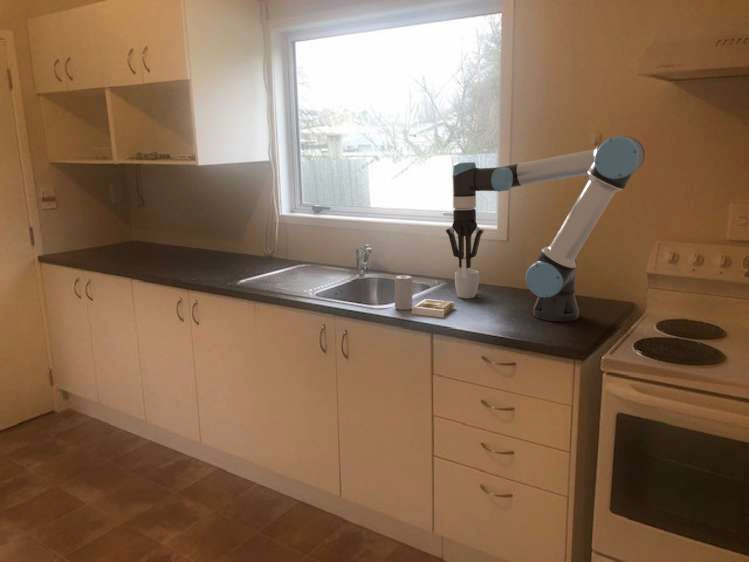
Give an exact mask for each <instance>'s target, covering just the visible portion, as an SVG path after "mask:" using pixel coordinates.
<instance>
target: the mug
mask: <svg viewBox="0 0 749 562" xmlns="http://www.w3.org/2000/svg"><path fill="white" fill-rule="evenodd" d="M479 275H480V274H479V271H478V270H476V269H470V268H468V277H467V278H462V269H457V270H456V271H455V273H454V286H455V292H456V295H457V297H458V298H461V299H473V298H475V297H476V295H477V293H478V290H479V289H478V288H479V283H480V276H479Z"/></svg>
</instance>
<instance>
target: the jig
mask: <svg viewBox="0 0 749 562" xmlns="http://www.w3.org/2000/svg"><path fill="white" fill-rule="evenodd" d="M425 301H427V302H436V303H442V302H443V301H444V300H438V299H429V298H428V299H426V298H424V299H423V300H421V301H419V302H418V303H416V304H415V305H412V308H411V309H412V311H411V313H412V315H418V316H426V317H435V318H436V317H437V318H444V317H445V315H444V310H441V309H432V308H423V307H422V306H423V303H424V302H425ZM448 302H450V301H448ZM451 302H452V310H455V309H456V307H455V306H456V302H455V301H451Z"/></svg>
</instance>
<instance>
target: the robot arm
mask: <svg viewBox="0 0 749 562" xmlns="http://www.w3.org/2000/svg"><path fill="white" fill-rule="evenodd" d="M645 157H646V151H645V148H644V146H643V144H642V143H641V141H639V140H638V139H636V138H634V137H631V136H625V135H623V136H622V135H620V136H619V135H615V136H611V137H610V138H607V139H606V140H604V141H603V142H602V143H601V144H598V145H596V147H595V148H594V149H589V150H583V151H579V152H578V151H577V152H572V153H569V154H567V153H566V154H562V155H557V156H553V157H547V158H541V159H536V160H532V161H527V162H526V161H525V162H520V163H514V164H510V165H504V166H496V167H482V168H480V167H477V165H476V163H475V161H473V162H472V161H469V162H468V161H467V162H466V161H464V162H455V163H454V164H453V168H452V169H453V171H452V172H453V173H452V183H453V184H452V188H453V189H452V191H453V194H452V196H453V198H452V199H453V201H452V202H453V204H452V205H453V209H454V210H453V213H452V214H453V223H452V226H451V227H449V228H447V229H446V230H445V232H446V234H447V235H448V237H449V242H450V246H451V251H452V254H453V256H454V257H456V258H458V267H459V269H461V270H462V278H467V277H468V269H470V268H471V267H472V258H475V257H476V256H477V254H478V250H479V245H480V241H481V237H482V235H483V233H484V231H485V230H484V229H483V228H480V227H479V226H478V224H477V210H476V209H475V208H476V206H477V204H476V203H477V200H476V198H477V197H476V195H477V192H506V191H509V190H511V188H516V187H522V186H526V185H534V184H538V183H539V184H540V183H546V182H553V181H557V180H558V181H559V180H565V179H570V178H576V177H581V176H588V180H587V182H586V184H585V185H584V188H583V189H582V190H581V192H580V194H579V195H578V197H577V199H576V201H575V203H574V204H573V206H572V208H571V209H570V211H569V213H568V215H567V216H566V217H565V218H564V219H565V220H564V221H563V223H562V225H561V227H560V228H559V229H558V231H557V233H556V235H555V237H554V238H553V240H552V242H551V244H550V245H549V246H544V247H543V248H542V249H541V251H540V253H539V254H538V256H537V258H536V259H535V261H534V263H533V264H531V265H529V267H528V269H527V271H526V272H525V283H526V286H527V288H528V289H529V291H530V292H531V293H533V295H535V296H537V298H536V301H535V303H534V306H533V312H532V313H533V314H532V315H533V317H535V318H537V319H540V320H543V321H549V322H571V321H577V319H579V316H580V315H579V314H580V310H579V306H578V302H577V299H576V296H575V293H576V292H575V291H576V279H577V278H576V277H577V263H578V254H579V253H580V251H581V249H582V248H583V246H584V245H585V242H586V241H587V239H588V238H589V237H590V234H591V233H592V231H593V230H594V228H595V226H596V225H597V223H598V222H599V220H600V218H601V217H602V215H603V214H604V212H605V210H606V209H607V207H608V205H609V203H610V202H611V200H612V198H613V197H614V196H615V194H616V193H617V192H620V191H624V189H625V188H626V186H627V184H628V182H629V181H630V179H631V178H632V176H633V174H634V173H636V172H637V171H638V170H639V169H640V168H641V167H642V166H643V163H644V162H645ZM455 233H456V235H457V239H458V242H457V240H456V236H455ZM473 233H475V234H476V235H475V236H474V240H473V245H472V235H473Z"/></svg>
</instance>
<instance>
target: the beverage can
mask: <svg viewBox="0 0 749 562" xmlns="http://www.w3.org/2000/svg"><path fill="white" fill-rule="evenodd" d="M413 282H414V281H413V279H412V276H411V275H403V274H402V275H397V276H395V279H394V308H395V309H397V310H398V311H401V310H403V312H404V311H406V312H407V311H409V310H411V309H412V307H413Z"/></svg>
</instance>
